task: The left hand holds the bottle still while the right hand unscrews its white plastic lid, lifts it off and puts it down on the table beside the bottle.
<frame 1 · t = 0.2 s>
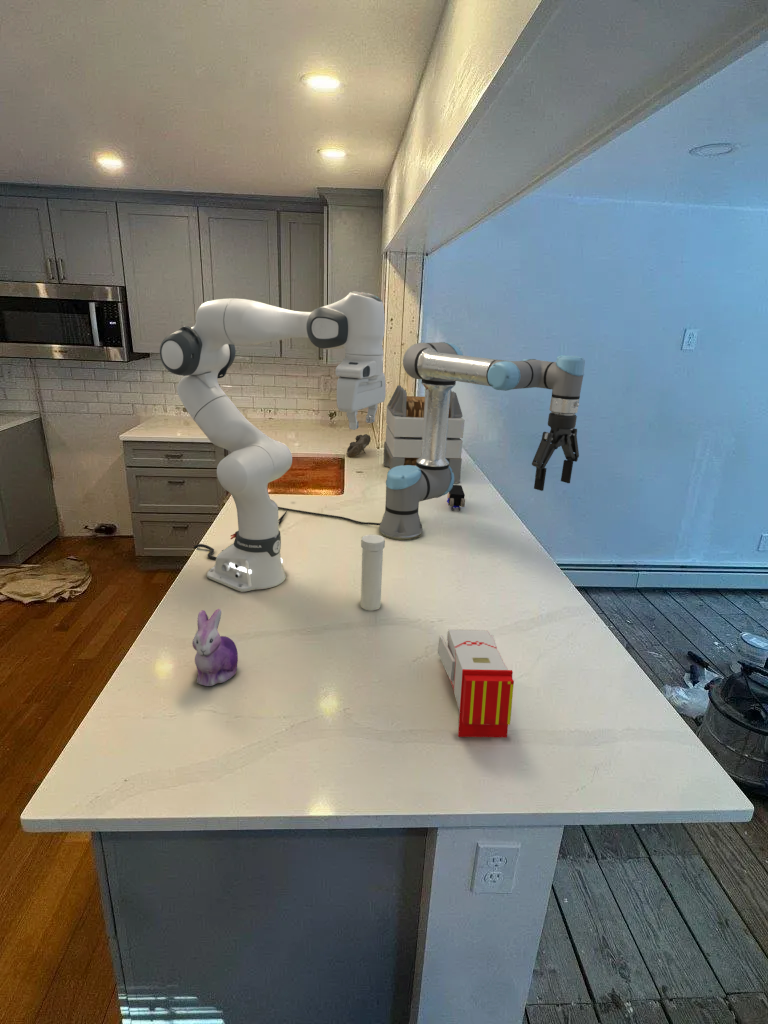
left hand: (362, 425, 136), 48 cm above the counter, tool pointing down, fingers open, 8 cm apart
right hand: (552, 485, 166), 28 cm above the counter, tool pointing down, fingers open, 13 cm apart
fossil: (358, 453, 307), on the counter
figurine character: (454, 506, 230), on the counter
lid: (373, 539, 145), point 19 cm above the counter, screwed on, not yet turned
figurine: (217, 674, 120), on the counter
feather: (285, 514, 213), on the counter
toy: (469, 691, 119), on the counter
bottle: (370, 605, 151), on the counter
stacking storage bins: (419, 473, 275), on the counter
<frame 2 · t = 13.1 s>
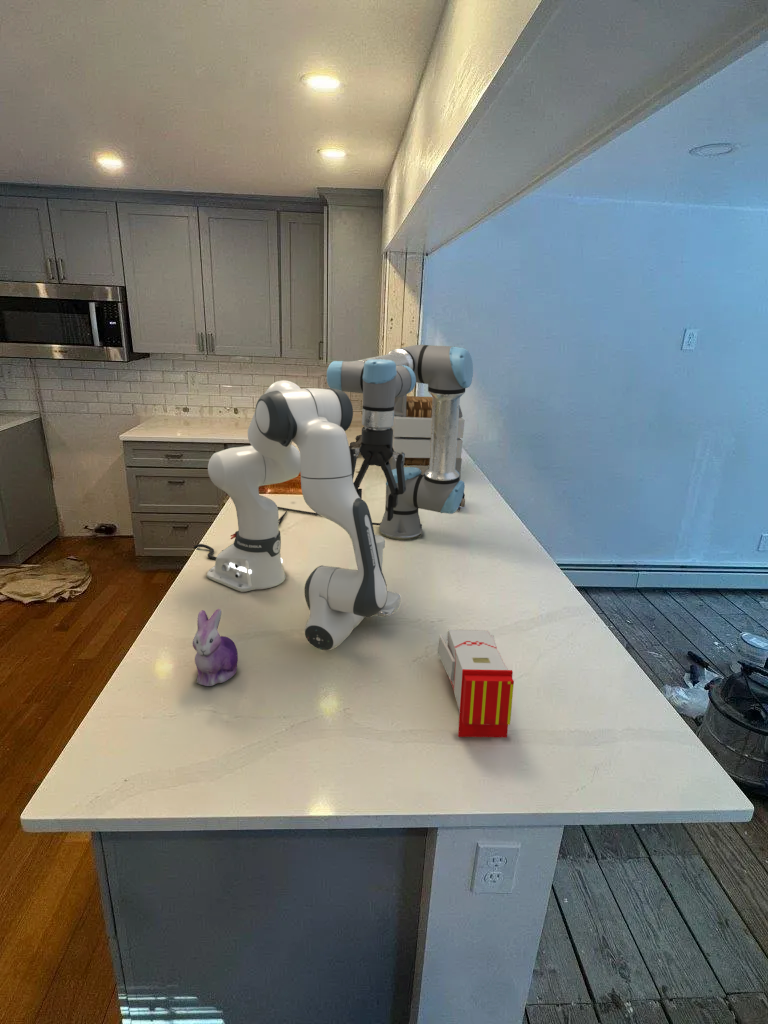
left hand: (372, 583, 150), 6 cm above the counter, tool horizontal, fingers closed on bottle, 5 cm apart
right hand: (374, 516, 143), 25 cm above the counter, tool pointing down, fingers open, 8 cm apart
bottle: (370, 605, 151), on the counter, touching left hand
everything else where it was.
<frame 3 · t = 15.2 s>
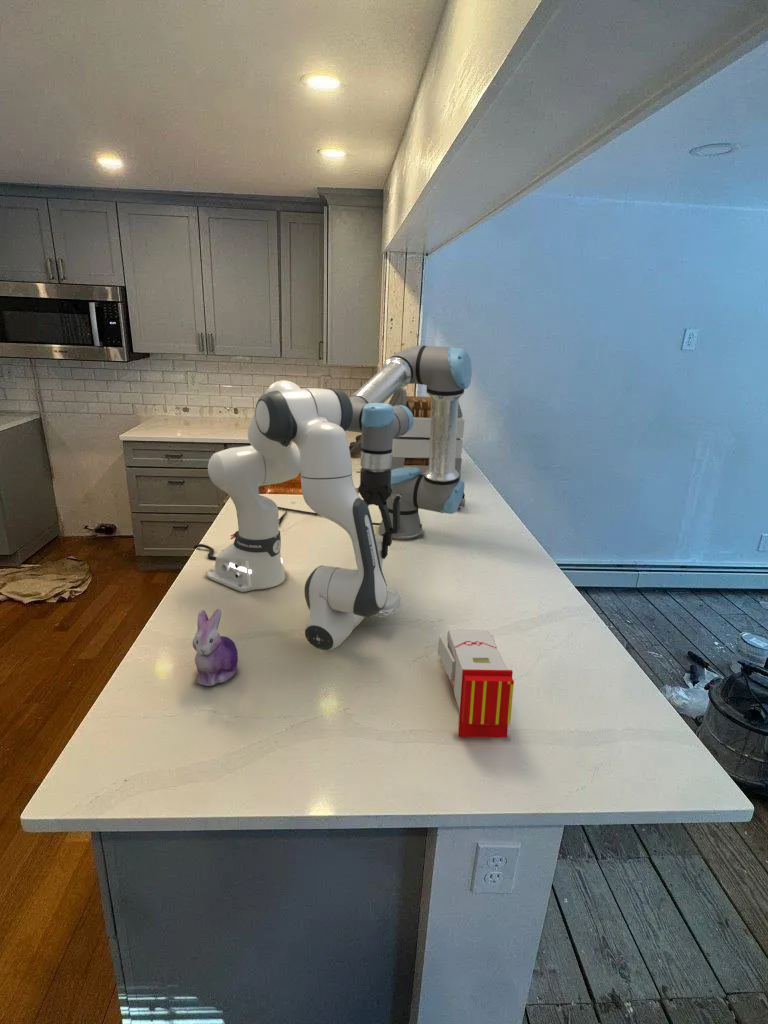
left hand: (372, 583, 150), 6 cm above the counter, tool horizontal, fingers closed on bottle, 5 cm apart
right hand: (372, 554, 146), 15 cm above the counter, tool pointing down, fingers closed on lid, 6 cm apart
lid: (373, 539, 145), point 19 cm above the counter, screwed on, not yet turned, touching right hand
bottle: (370, 605, 151), on the counter, touching left hand
everything else where it was.
when the right hand's fingers open (15 cm above the counter, at t = 16.7 s): lid stays where it is, point 19 cm above the counter.
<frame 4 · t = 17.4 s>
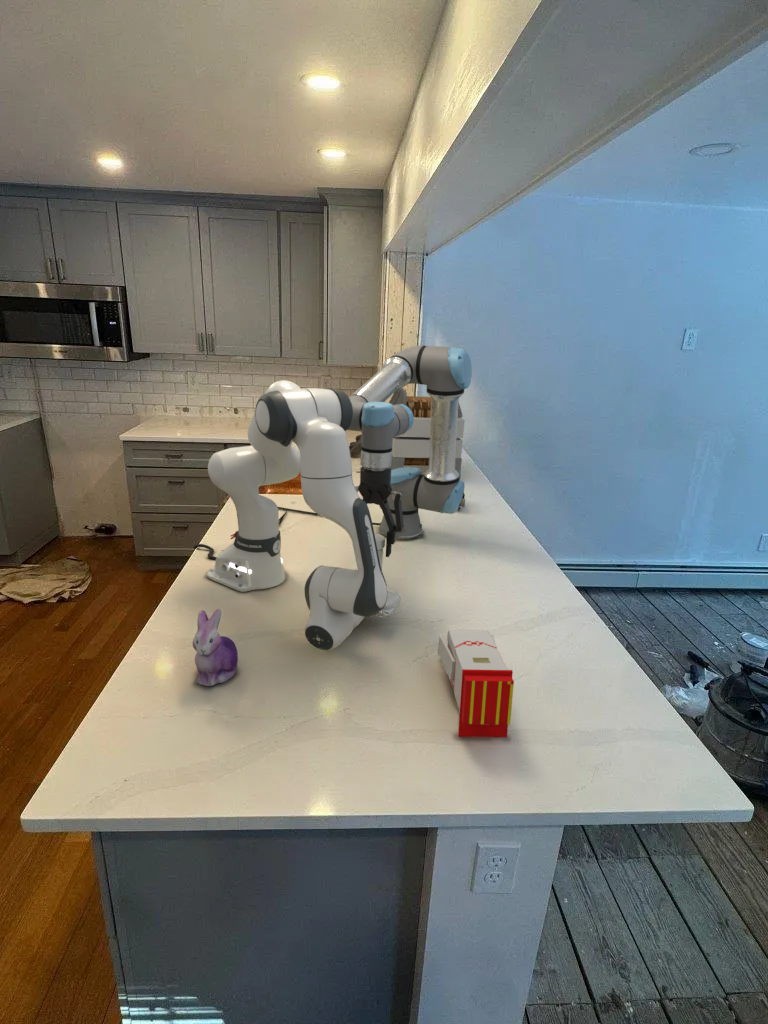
left hand: (372, 583, 150), 6 cm above the counter, tool horizontal, fingers closed on bottle, 5 cm apart
right hand: (372, 552, 146), 15 cm above the counter, tool pointing down, fingers open, 8 cm apart
lid: (373, 538, 145), point 19 cm above the counter, turned 82° so far, risen 0.3 cm, still on its thread
bottle: (370, 605, 151), on the counter, touching left hand
everything else where it was.
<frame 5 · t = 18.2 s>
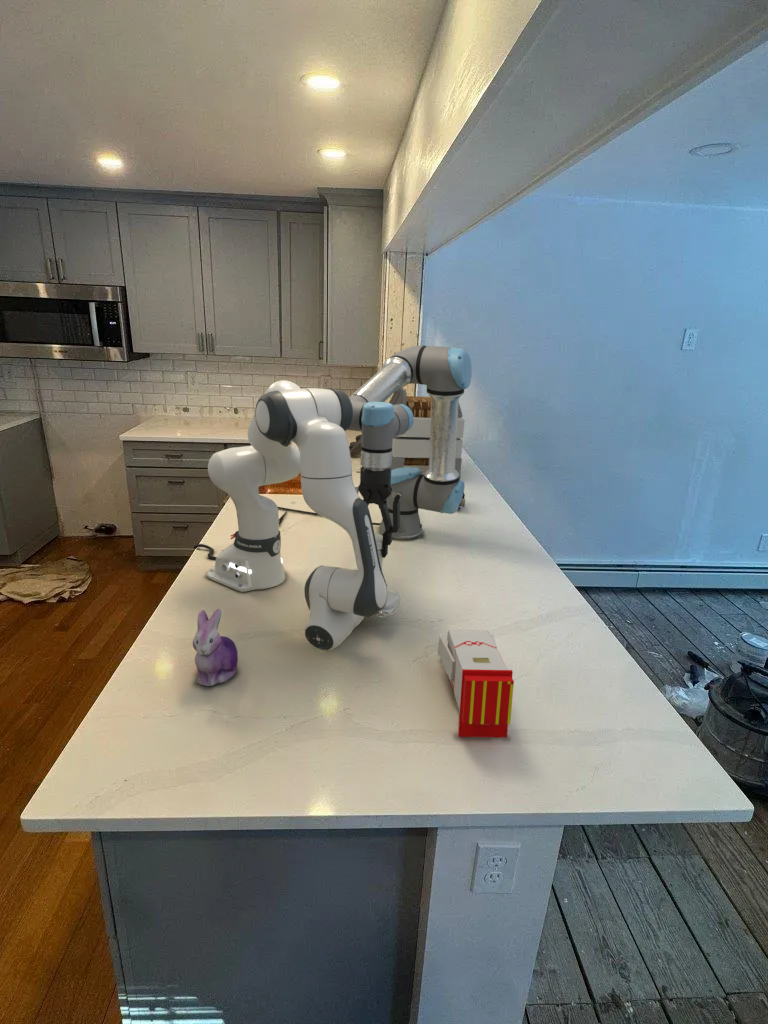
left hand: (372, 583, 150), 6 cm above the counter, tool horizontal, fingers closed on bottle, 5 cm apart
right hand: (372, 553, 146), 15 cm above the counter, tool pointing down, fingers closed on lid, 6 cm apart
lid: (373, 538, 145), point 19 cm above the counter, turned 82° so far, risen 0.3 cm, still on its thread, touching right hand
bottle: (370, 605, 151), on the counter, touching left hand
everything else where it was.
when the right hand's fingers open (0 cm above the counter, at t = 24.2 s): lid drops 2 cm, point 2 cm above the counter.
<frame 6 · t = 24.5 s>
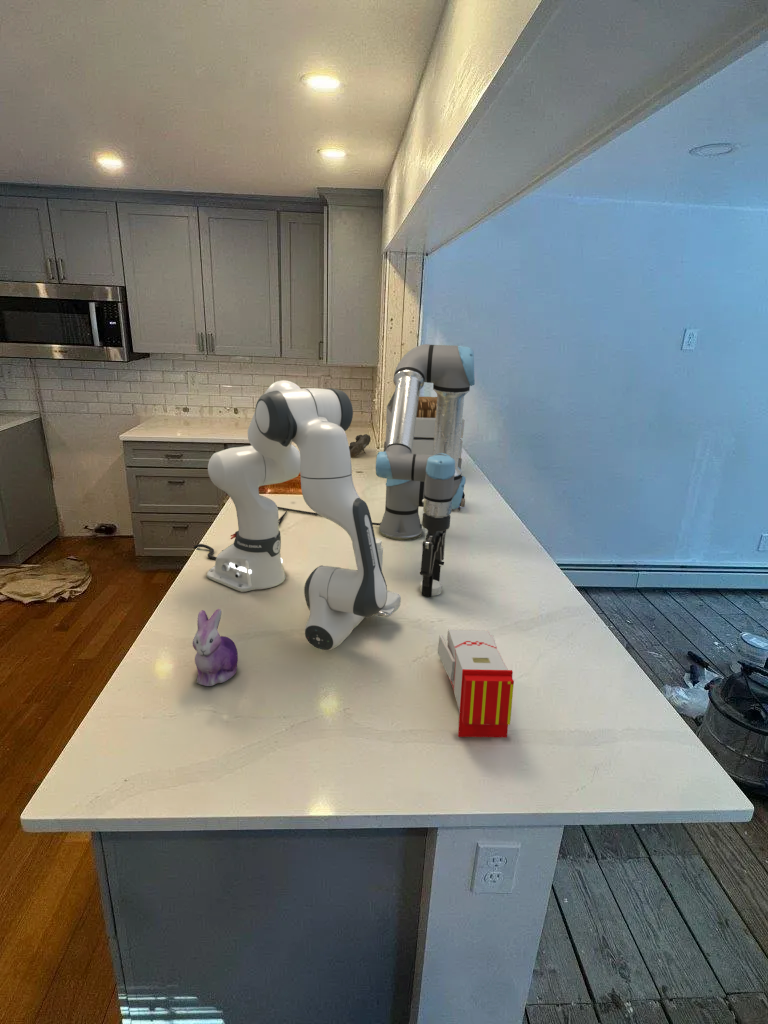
left hand: (372, 583, 150), 6 cm above the counter, tool horizontal, fingers closed on bottle, 5 cm apart
right hand: (430, 590, 160), 0 cm above the counter, tool pointing down, fingers open, 6 cm apart
lid: (431, 584, 160), point 2 cm above the counter, off its thread
bottle: (370, 605, 151), on the counter, touching left hand
everything else where it was.
when the left hand's fingers open (6 cm above the counter, at t = 25.9 s): bottle stays where it is, on the counter.
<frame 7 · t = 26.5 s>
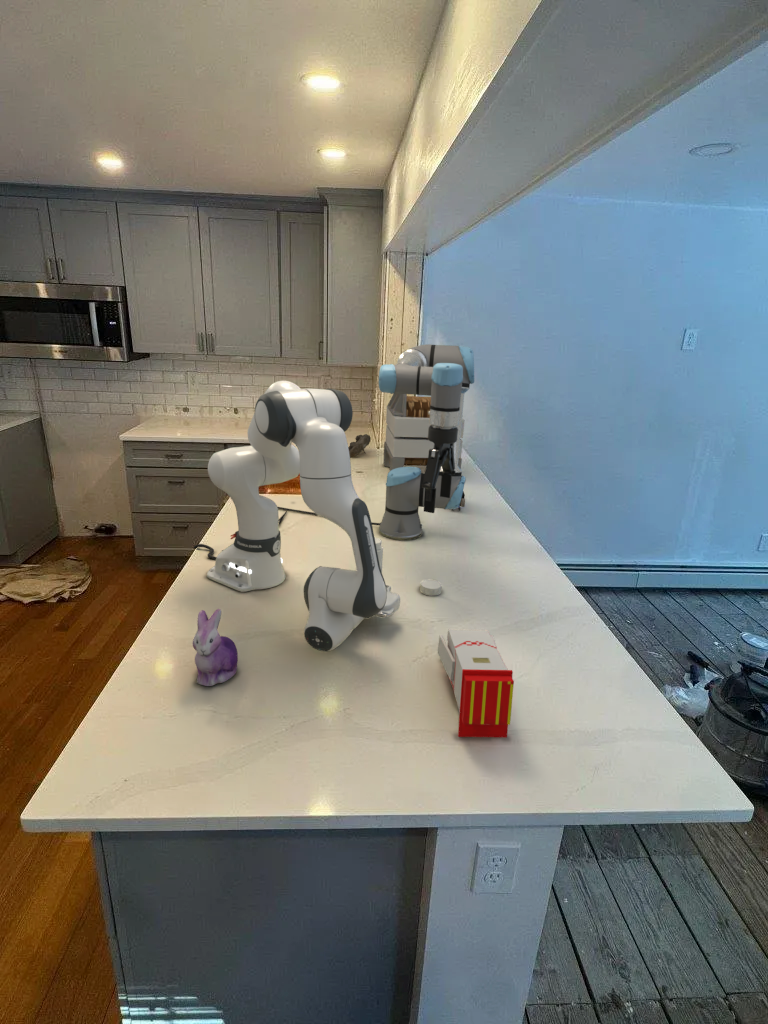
left hand: (372, 584, 149), 6 cm above the counter, tool horizontal, fingers open, 8 cm apart
right hand: (437, 504, 152), 26 cm above the counter, tool pointing down, fingers open, 13 cm apart
bottle: (370, 605, 151), on the counter
everything else where it was.
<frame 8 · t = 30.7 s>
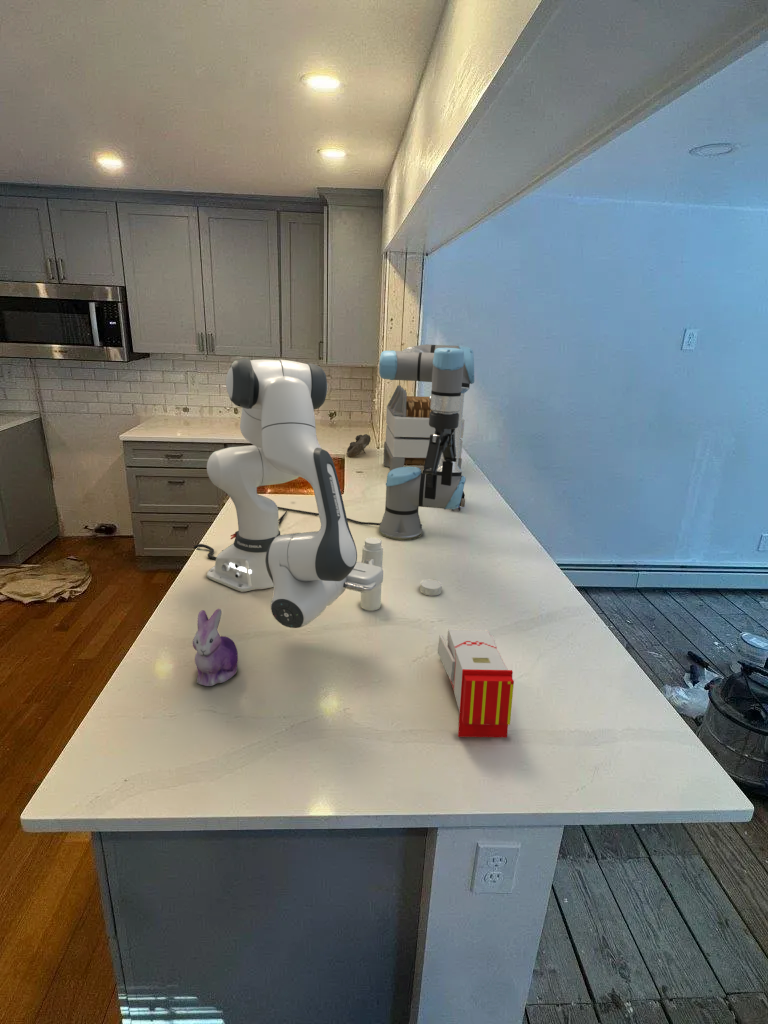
left hand: (353, 557, 134), 19 cm above the counter, tool horizontal, fingers open, 8 cm apart
right hand: (438, 491, 151), 30 cm above the counter, tool pointing down, fingers open, 13 cm apart
nothing on the counter moved.
at the end: lid came off its thread; lid point 1.9 cm above the counter; the left hand is holding nothing; the right hand is holding nothing; bottle tilted 0°; bottle moved 0.1 cm from its start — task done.
